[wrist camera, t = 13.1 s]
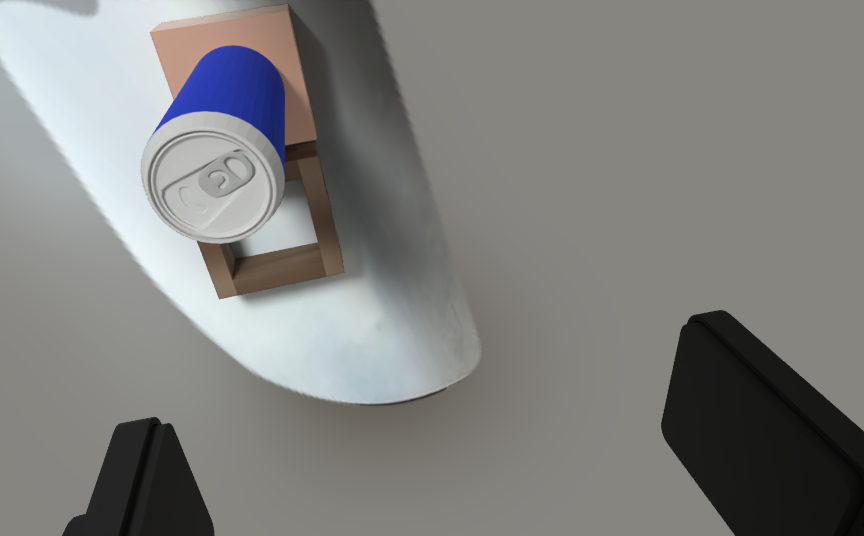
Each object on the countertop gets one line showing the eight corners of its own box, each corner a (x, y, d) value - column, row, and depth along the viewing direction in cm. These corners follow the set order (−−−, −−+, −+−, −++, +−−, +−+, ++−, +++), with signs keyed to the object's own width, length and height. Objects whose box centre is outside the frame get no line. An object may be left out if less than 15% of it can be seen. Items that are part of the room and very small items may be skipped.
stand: (161, 22, 34) (149, 32, 31) (287, 3, 35) (288, 10, 32) (202, 143, 38) (195, 161, 35) (315, 123, 39) (317, 139, 36)
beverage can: (236, 149, 35) (210, 274, 23) (172, 79, 33) (101, 177, 20) (303, 99, 35) (313, 199, 22) (242, 23, 32) (215, 88, 19)
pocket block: (182, 166, 39) (174, 182, 36) (315, 141, 40) (317, 156, 37) (222, 277, 43) (219, 299, 41) (341, 252, 44) (344, 272, 42)
